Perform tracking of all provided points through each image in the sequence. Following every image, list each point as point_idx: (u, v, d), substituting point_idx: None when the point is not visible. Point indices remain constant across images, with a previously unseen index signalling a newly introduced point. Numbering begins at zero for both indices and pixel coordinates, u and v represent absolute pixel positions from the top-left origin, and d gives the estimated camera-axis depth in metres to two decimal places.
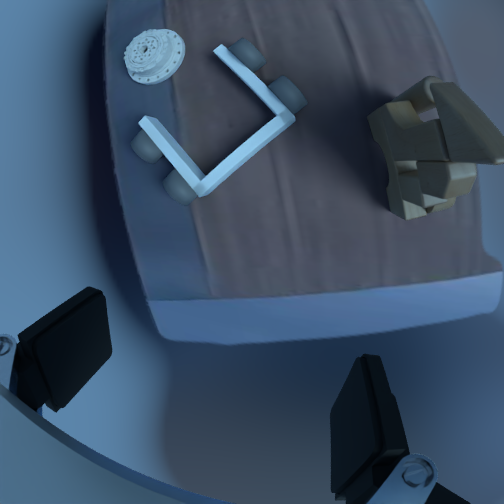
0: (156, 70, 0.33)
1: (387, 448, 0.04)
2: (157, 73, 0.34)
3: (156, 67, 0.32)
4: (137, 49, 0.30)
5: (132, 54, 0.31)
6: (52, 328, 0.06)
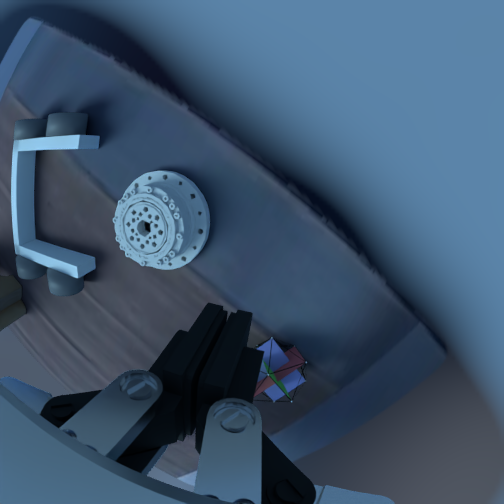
0: None
1: (205, 382, 0.06)
2: None
3: None
4: (153, 222, 0.23)
5: (154, 210, 0.23)
6: (198, 354, 0.07)
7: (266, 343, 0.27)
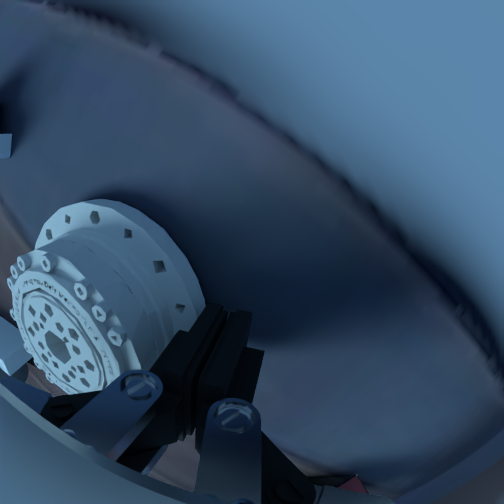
0: None
1: (205, 382, 0.06)
2: None
3: None
4: (71, 342, 0.08)
5: (65, 317, 0.08)
6: (198, 354, 0.07)
7: None
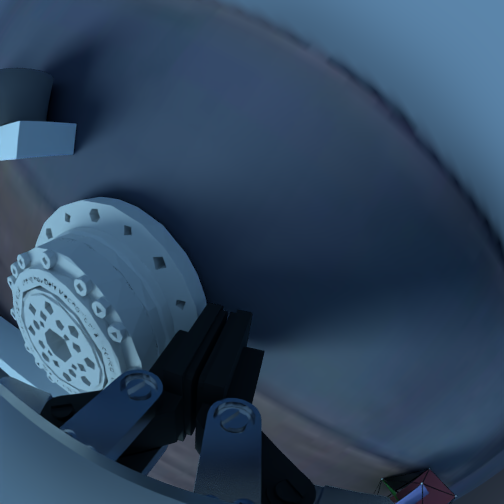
0: None
1: (205, 382, 0.06)
2: None
3: None
4: (71, 340, 0.08)
5: (65, 314, 0.08)
6: (198, 354, 0.07)
7: (413, 490, 0.10)
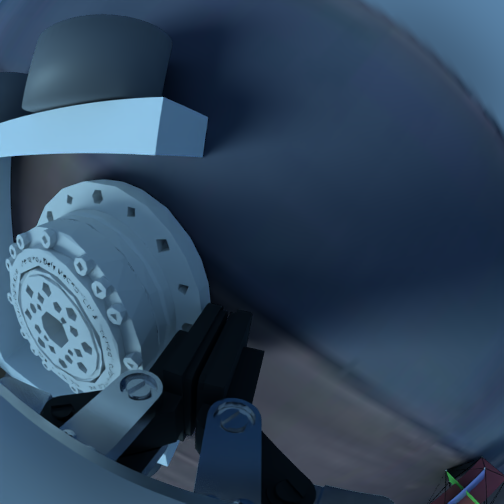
0: None
1: (205, 382, 0.06)
2: None
3: None
4: (68, 323, 0.08)
5: (63, 296, 0.07)
6: (198, 354, 0.07)
7: (477, 475, 0.10)
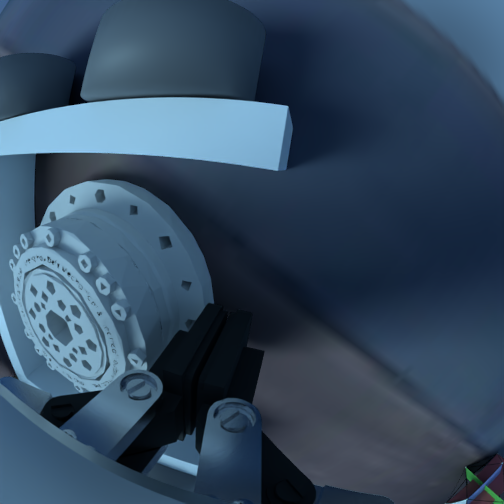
0: None
1: (205, 382, 0.06)
2: None
3: None
4: (73, 320, 0.08)
5: (68, 293, 0.08)
6: (198, 354, 0.07)
7: (496, 470, 0.09)
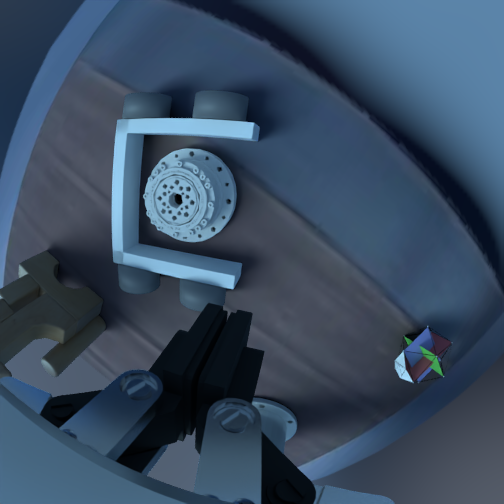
0: None
1: (205, 382, 0.06)
2: None
3: None
4: (185, 194, 0.25)
5: (186, 182, 0.25)
6: (198, 354, 0.07)
7: (423, 331, 0.27)
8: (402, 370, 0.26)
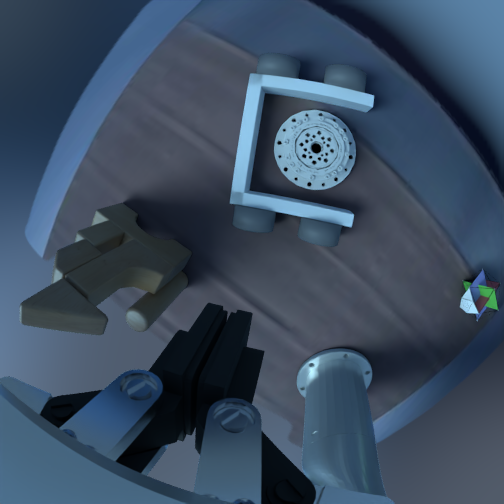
0: None
1: (205, 382, 0.06)
2: None
3: None
4: (326, 143, 0.28)
5: (327, 134, 0.28)
6: (198, 354, 0.07)
7: (480, 273, 0.30)
8: (470, 303, 0.29)
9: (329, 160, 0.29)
